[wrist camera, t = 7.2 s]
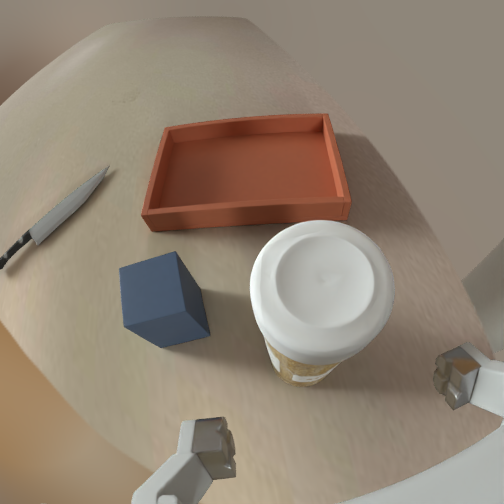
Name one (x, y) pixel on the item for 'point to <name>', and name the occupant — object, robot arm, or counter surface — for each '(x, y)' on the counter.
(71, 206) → the chef's knife
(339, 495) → the counter surface
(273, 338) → the sprinkles bottle
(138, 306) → the blue block
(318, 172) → the tray
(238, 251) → the counter surface
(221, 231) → the counter surface
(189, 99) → the counter surface
